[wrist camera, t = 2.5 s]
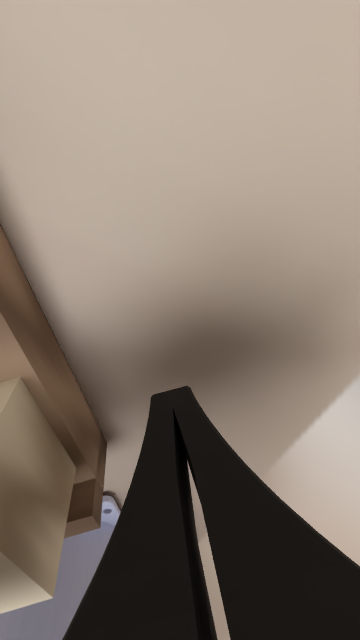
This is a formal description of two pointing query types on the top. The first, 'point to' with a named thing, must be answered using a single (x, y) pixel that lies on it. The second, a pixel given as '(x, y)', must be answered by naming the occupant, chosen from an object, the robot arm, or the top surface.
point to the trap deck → (51, 389)
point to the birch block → (30, 499)
